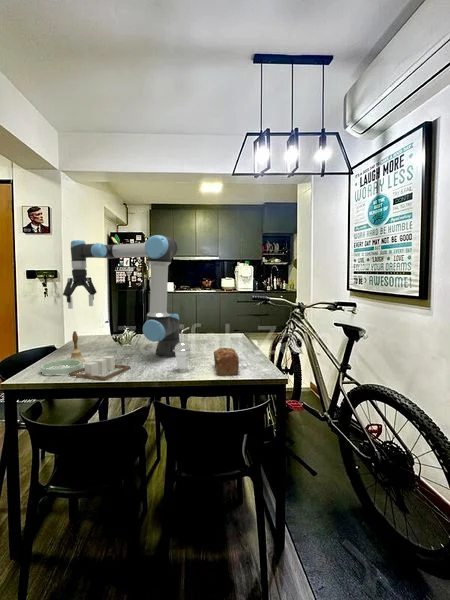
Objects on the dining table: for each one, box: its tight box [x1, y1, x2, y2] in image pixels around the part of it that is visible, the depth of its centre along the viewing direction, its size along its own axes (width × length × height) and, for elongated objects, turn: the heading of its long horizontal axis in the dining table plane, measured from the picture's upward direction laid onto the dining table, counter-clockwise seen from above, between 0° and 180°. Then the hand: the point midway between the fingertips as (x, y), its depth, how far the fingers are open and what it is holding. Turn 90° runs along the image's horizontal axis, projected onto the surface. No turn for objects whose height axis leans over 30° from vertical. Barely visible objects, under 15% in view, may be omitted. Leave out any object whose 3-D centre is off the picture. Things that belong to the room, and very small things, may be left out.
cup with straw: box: [173, 326, 192, 373], centre depth 168 cm, size 8×9×20 cm
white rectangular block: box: [84, 361, 100, 376], centre depth 160 cm, size 4×4×6 cm
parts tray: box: [68, 363, 131, 381], centre depth 166 cm, size 20×19×2 cm
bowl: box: [39, 359, 84, 375], centre depth 170 cm, size 18×18×3 cm
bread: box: [213, 347, 240, 376], centre depth 168 cm, size 19×11×10 cm, turn 5°
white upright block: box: [102, 355, 116, 371], centre depth 172 cm, size 4×4×6 cm
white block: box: [93, 358, 108, 375], centre depth 166 cm, size 4×4×6 cm
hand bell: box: [69, 331, 86, 363], centre depth 187 cm, size 8×8×16 cm
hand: (81, 307), depth 198 cm, fingers open, 13 cm apart
